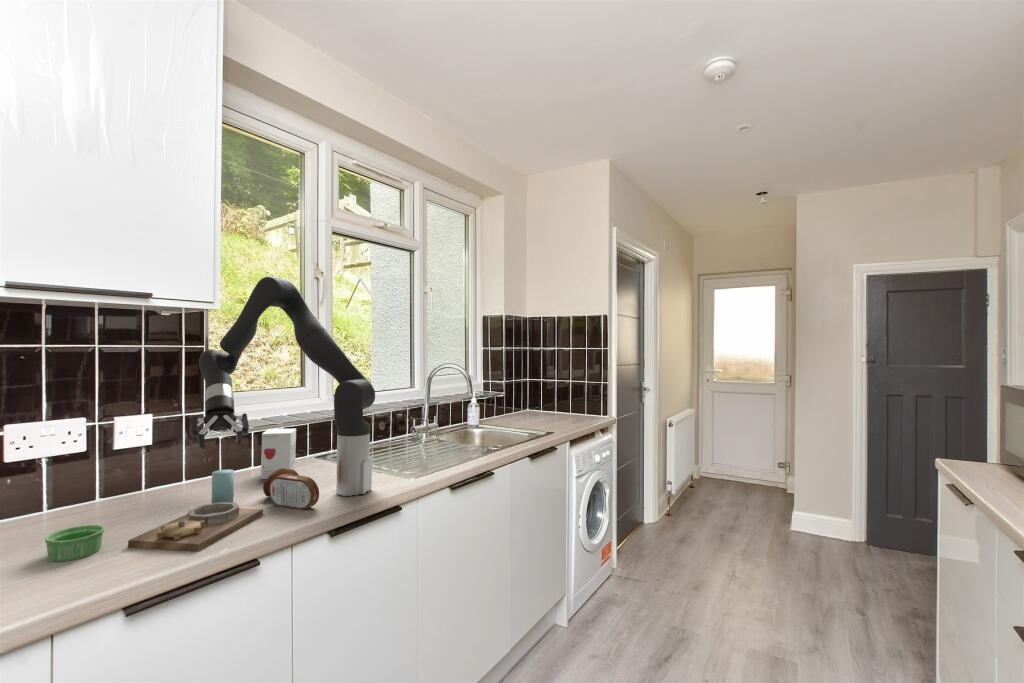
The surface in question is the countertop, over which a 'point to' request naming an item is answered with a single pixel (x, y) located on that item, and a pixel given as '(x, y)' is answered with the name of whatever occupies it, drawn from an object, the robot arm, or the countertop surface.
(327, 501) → the countertop surface
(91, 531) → the ramekin
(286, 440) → the supplement box
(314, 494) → the tin
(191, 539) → the board
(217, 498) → the light blue cylinder
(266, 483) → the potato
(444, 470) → the countertop surface
